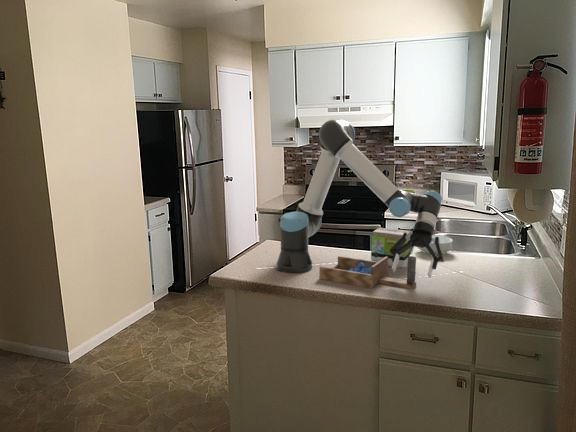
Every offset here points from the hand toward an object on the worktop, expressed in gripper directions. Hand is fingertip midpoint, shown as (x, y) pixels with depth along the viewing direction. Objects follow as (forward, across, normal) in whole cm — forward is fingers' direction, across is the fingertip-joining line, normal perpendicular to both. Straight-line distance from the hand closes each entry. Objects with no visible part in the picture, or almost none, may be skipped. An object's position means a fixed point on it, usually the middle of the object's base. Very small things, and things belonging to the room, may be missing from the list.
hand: (410, 273), depth 183 cm
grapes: (-2, +15, -5) cm, 16 cm away
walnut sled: (+4, +16, -5) cm, 17 cm away
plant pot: (-116, +56, -125) cm, 179 cm away
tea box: (-14, +17, -24) cm, 33 cm away
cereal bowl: (-33, +6, -42) cm, 54 cm away
